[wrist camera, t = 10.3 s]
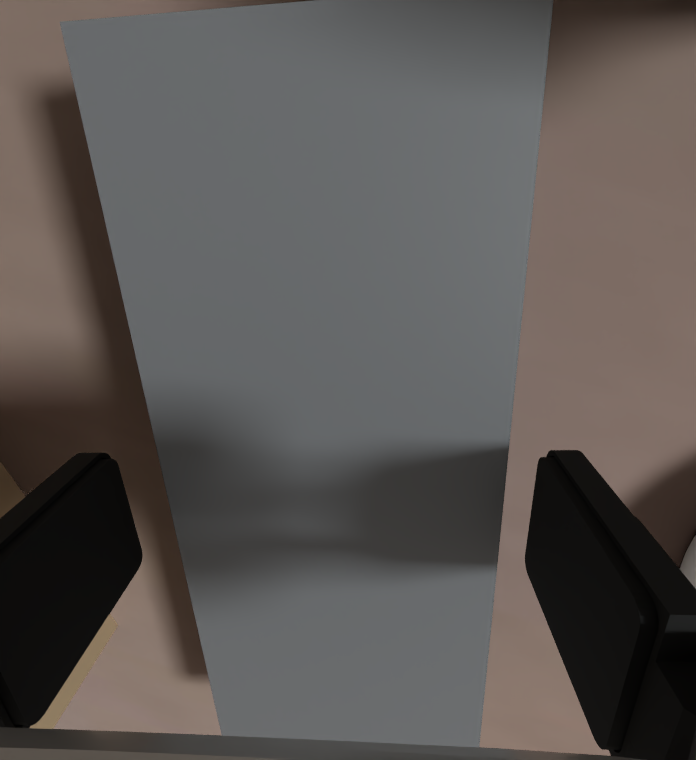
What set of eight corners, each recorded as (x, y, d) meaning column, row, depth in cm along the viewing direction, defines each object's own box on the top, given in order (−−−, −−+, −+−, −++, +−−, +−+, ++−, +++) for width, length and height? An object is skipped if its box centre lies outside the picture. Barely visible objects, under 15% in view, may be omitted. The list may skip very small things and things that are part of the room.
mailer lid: (152, 76, 10) (59, 22, 7) (501, 49, 9) (555, -21, 6) (255, 676, 17) (229, 771, 14) (458, 684, 16) (475, 785, 13)
